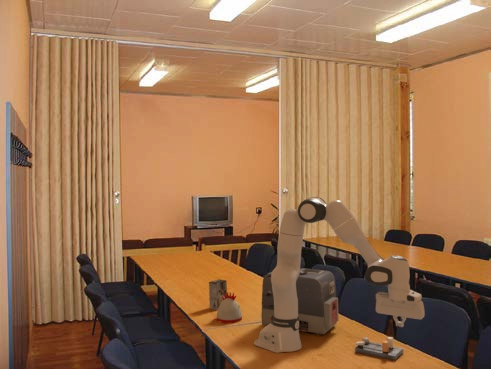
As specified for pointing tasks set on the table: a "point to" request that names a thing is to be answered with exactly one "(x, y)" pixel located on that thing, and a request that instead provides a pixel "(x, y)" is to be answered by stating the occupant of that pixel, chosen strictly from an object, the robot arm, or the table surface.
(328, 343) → the table surface
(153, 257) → the table surface
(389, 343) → the fader ivory
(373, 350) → the console
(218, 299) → the coffee box
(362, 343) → the plate
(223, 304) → the kitchen timer
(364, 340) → the button
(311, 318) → the film projector
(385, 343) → the fader orange
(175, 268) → the table surface
